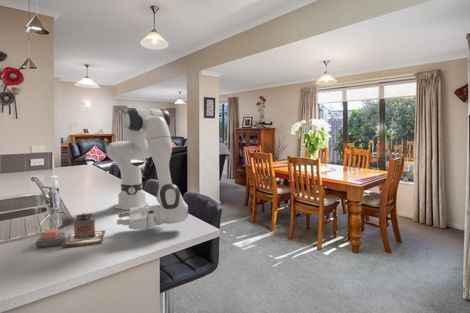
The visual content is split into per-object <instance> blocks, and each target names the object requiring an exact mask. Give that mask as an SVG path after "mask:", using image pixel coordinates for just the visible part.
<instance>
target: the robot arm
mask: <svg viewBox="0 0 470 313" xmlns="http://www.w3.org/2000/svg"><path fill="white" fill-rule="evenodd" d="M124 123H125V130H124V137H125V139H126V140H118V141H114V142H110V143H108V145H107V147H106V155H107V157H108V158H109V159H110V160H111V161H113V162H114V163H115V164H116V165H117V166H118V168H119V171H120V177H121V184H120V190H121V191H120V192H119V193H118V196H117V197H118V203H117V204H116V205H115V206H114V207H115V209H118V210H123V212H119V213H118V219H117V221H116V224H117V225H123V226H128V228H129V229H130V230H144V229H148V230H152V229H154V228H155V227H156V226H160V225H164V224H166V225H171V224H179V223H183V222H185V221H186V220H187V218H188V214H189V206H188V204H187V203H186V201H185V200H184V198H183V196H182V194H181V191H180V188H179V186H177V185H176V184H174V183H173V182H172V177H171V171H170V160H171V156H172V153H173V144H172V137H171V132H170V129H169V126H170V124H171V114H170V113H169V112H168V110H167V109H164V108H150V107H147V108H144V107H134V108H132V109H127V110H126V112H125V114H124ZM148 158H151V159H152V161H153V163H154V166H155V172H156V176H157V183H158V184H157V185H158V188H157V191H156V192H157V193H156V200H157V202H158V203H159V204H157V205H156V204H155V205H150V203H149V202H148V201H147V199H146V192H145V190H143V187H144V186H143V181H142V179H143V178H142V176H143V175H142V170H141V168H140V167H138V166H137V165H134V164H133V163H132V160H133V161H134V160H144V159H148ZM124 210H125V211H124ZM124 217H128V218H127V219H122V218H124ZM120 218H121V219H120Z"/></svg>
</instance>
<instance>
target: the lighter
mask: <svg viewBox="0 0 470 313" xmlns="http://www.w3.org/2000/svg"><path fill="white" fill-rule="evenodd" d="M75 216H76V219H73V220H72V221H73V230H74V231H73V232H74V233H73V234H75V236H74V239H85V238H93V237H95V236H96V234H95V231H96V227H95V226H96V224H95V223H96V222H95V221H96V218H95V217H94V214H93V213H92V212H91V213H84V212H83V213H81V214H76V215H75Z"/></svg>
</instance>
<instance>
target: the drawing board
mask: <svg viewBox="0 0 470 313" xmlns="http://www.w3.org/2000/svg"><path fill="white" fill-rule="evenodd" d="M105 233H106V230H98V231H96V230H95V234H96V236H95V237H93V238H85V239H74V236H75V234H74V233H69V234H68V235H67V236H66V237H65V240H64V241H63V243H62V244H61V249H70V248H77V247H78V248H79V247H87V246H95V245H102V244H103V241H104V236H105V235H106V234H105Z"/></svg>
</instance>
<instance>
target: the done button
mask: <svg viewBox="0 0 470 313" xmlns="http://www.w3.org/2000/svg"><path fill="white" fill-rule="evenodd" d="M59 232H60V231H59V227H58V228H47V229H45V230H44V231H42V234H43V239H53V238H57V237H58V236H59Z"/></svg>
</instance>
